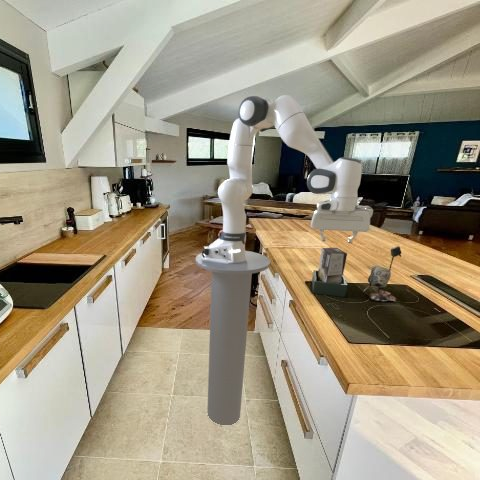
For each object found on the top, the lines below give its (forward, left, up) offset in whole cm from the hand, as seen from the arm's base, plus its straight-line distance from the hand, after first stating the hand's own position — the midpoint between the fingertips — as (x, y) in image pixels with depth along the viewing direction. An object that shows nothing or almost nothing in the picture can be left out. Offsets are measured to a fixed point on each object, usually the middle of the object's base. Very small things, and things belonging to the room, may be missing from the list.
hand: (336, 241), depth 120 cm
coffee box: (0, 0, -20) cm, 20 cm away
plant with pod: (+18, -4, -20) cm, 27 cm away
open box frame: (0, 0, -19) cm, 19 cm away
